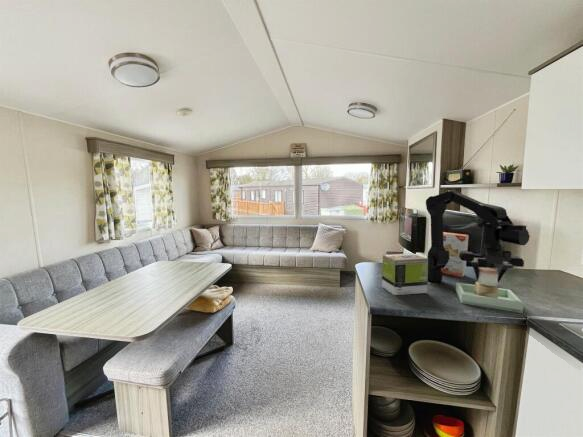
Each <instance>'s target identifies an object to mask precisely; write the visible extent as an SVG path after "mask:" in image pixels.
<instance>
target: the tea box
mask: <svg viewBox="0 0 583 437" xmlns="http://www.w3.org/2000/svg"><path fill="white" fill-rule="evenodd" d="M381 270H382V272H381V287H382V288H383V289H384V290H386V291H387V292H389V293H390V294H392V295H393V296H402V295H411V294H412V295H417V294H427V293H428V282H429V281H428V259H427V257H424V256H421V255H418V254H416V253H394V254H382V269H381Z"/></svg>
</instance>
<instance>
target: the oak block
mask: <svg viewBox="0 0 583 437" xmlns="http://www.w3.org/2000/svg"><path fill="white" fill-rule="evenodd" d="M474 285H475V292H474V294H475V295H479V296H485V297H492V298H498V291H499V289H498V288H499V287H497V286H488V285H483V284H480V283H478V281H475V283H474Z"/></svg>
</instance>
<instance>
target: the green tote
mask: <svg viewBox="0 0 583 437" xmlns="http://www.w3.org/2000/svg"><path fill="white" fill-rule="evenodd" d="M497 288H498V289H499V291H498V298H492V297H485V296H479V295H475V294H474V292H475V284H470V283H463V282H455V292H456V295H457V297H458V300H459V302H460V303H461V304H465V305H471V306H478V307H483V308H488V309H489V308H490V309H495V310H500V311H501V310H502V311H507V312H515V313H520V314H524V306H525V303H524V302H523V301H522V300H521V299H520V298H519V297H518V296H517V295H516V294H515V293H514V292H513V291H512V290H511V289H507V288H499V287H497Z"/></svg>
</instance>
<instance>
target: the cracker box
mask: <svg viewBox="0 0 583 437" xmlns="http://www.w3.org/2000/svg"><path fill="white" fill-rule="evenodd" d="M443 244H444V248H445V250H446V251H449V258H450V259H449V261H448V263H447V264H446V265H445V267H444V268H441V271H442V272H443V273H442V274H445V275H448V276H449V275H450V276H452V277H453V276H454V277H458V278H464V276H465V275H466V272H467V271H466V268H467V261H463V260H461V259H460V258H459V253H460V252H461V251H468V247H469V234H463V233H462V234H461V233H454V232H445V231H443Z"/></svg>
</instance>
